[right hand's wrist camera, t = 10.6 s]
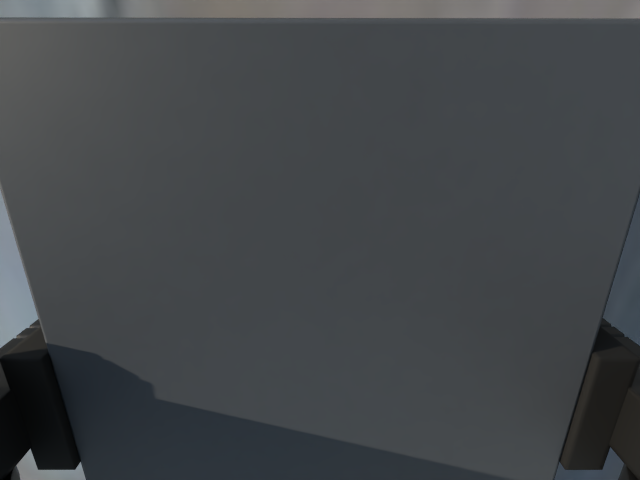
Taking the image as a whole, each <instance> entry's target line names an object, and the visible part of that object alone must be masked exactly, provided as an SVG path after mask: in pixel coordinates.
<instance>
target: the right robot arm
mask: <svg viewBox="0 0 640 480" xmlns="http://www.w3.org/2000/svg"><path fill="white" fill-rule="evenodd" d="M610 447H611V448H612V449H613V450H614V452H615V453H616V454H617V455H618V456H619V457H620V459H621V460H622V461H623V462H624V466H623V469H622V471H621V474H620V477H619V479H618V480H640V346H639V345H638V344H636V343H635V342H634V341H632V340H631V339H630V338H628V337H624V334H623V333H622V332H620V331H619V330H618V329H616V328H615V327H611V324H610V323H609V322H607V321H606V320H605V319H603V318H602V321H601V324H600V327H599V331H598V334H597V337H596V341H595V344H594V348H593V351H592V354H591V358H590V361H589V364H588V368H587V371H586V374H585V378H584V381H583V384H582V388H581V391H580V394H579V398H578V401H577V404H576V408H575V411H574V414H573V418H572V421H571V424H570V428H569V431H568V434H567V438H566V441H565V444H564V448H563V451H562V454H561V458H560V463H561V464H562V466H563V467H564V469H565V470H602V469H603V466H604V463H605V460H606V457H607V455H608V452H609V449H610ZM30 448H31V451H32V454H33V456H34V459H35V462H36V465H37V468H38V470H75V469H76V468H77V466H78V465H79V463H80V462H81V461H80V457H79V454H78V450H77V447H76V444H75V440H74V437H73V433H72V430H71V427H70V423H69V420H68V416H67V413H66V410H65V406H64V403H63V399H62V396H61V393H60V389H59V386H58V382H57V379H56V376H55V372H54V369H53V366H52V362H51V359H50V355H49V352H48V349H47V345H46V342H45V338H44V335H43V332H42V328H41V325H40V321H39V319H38V320H37V321H35V322H34V323H33V324H32V325H30V328H26V329H25V330H24V331H22V332H21V333H20V334H18V335H17V338H13V339H12V340H11V341H9V342H8V343H7V344H5V345H4V346H3V347H1V348H0V480H20V475H19V471H18V469H17V466H16V465H17V464H18V462H19V461H20V460H21V459H22V458H23V456H24V455H25V454H26V453H27V452H28V451H29V449H30Z"/></svg>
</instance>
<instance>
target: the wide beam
mask: <svg viewBox="0 0 640 480" xmlns="http://www.w3.org/2000/svg"><path fill="white" fill-rule="evenodd" d="M0 189H1V192H2V196H3V199H4V203H5V206H6V209H7V213H8V216H9V220H10V223H11V226H12V230H13V233H14V237H15V240H16V243H17V247H18V250H19V254H20V257H21V260H22V264H23V267H24V271H25V274H26V277H27V281H28V284H29V287H30V291H31V294H32V298H33V301H34V304H35V308H36V311H37V315H38V318H39V321H40V325H41V328H42V332H43V335H44V338H45V342H46V345H47V349H48V352H49V355H50V359H51V362H52V366H53V369H54V372H55V376H56V379H57V382H58V386H59V389H60V393H61V396H62V399H63V403H64V406H65V410H66V413H67V416H68V420H69V423H70V427H71V430H72V433H73V437H74V440H75V444H76V447H77V450H78V454H79V457H80V461H81V464H82V467H83V471H84V474H85V477H86V480H554V478H555V474H556V471H557V468H558V464H559V461H560V458H561V454H562V451H563V448H564V444H565V441H566V438H567V434H568V431H569V428H570V424H571V421H572V418H573V414H574V411H575V408H576V404H577V401H578V398H579V394H580V391H581V388H582V384H583V381H584V378H585V374H586V371H587V368H588V364H589V361H590V358H591V354H592V351H593V348H594V344H595V341H596V337H597V334H598V331H599V327H600V324H601V321H602V317H603V314H604V311H605V307H606V304H607V301H608V297H609V294H610V291H611V287H612V284H613V281H614V277H615V274H616V271H617V267H618V264H619V261H620V257H621V254H622V251H623V247H624V244H625V241H626V237H627V234H628V231H629V227H630V224H631V221H632V217H633V214H634V211H635V207H636V204H637V201H638V197H639V194H640V19H510V18H0Z"/></svg>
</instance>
